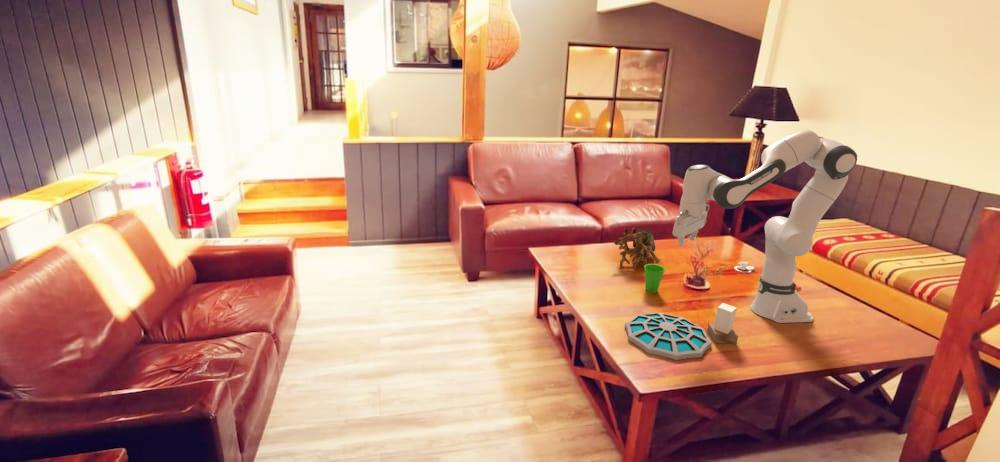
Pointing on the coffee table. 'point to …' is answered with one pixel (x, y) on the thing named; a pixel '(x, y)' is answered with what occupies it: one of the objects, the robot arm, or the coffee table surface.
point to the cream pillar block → (725, 318)
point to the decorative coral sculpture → (638, 246)
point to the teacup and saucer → (744, 267)
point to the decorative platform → (667, 336)
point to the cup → (653, 276)
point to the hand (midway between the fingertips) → (686, 242)
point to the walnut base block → (722, 335)
